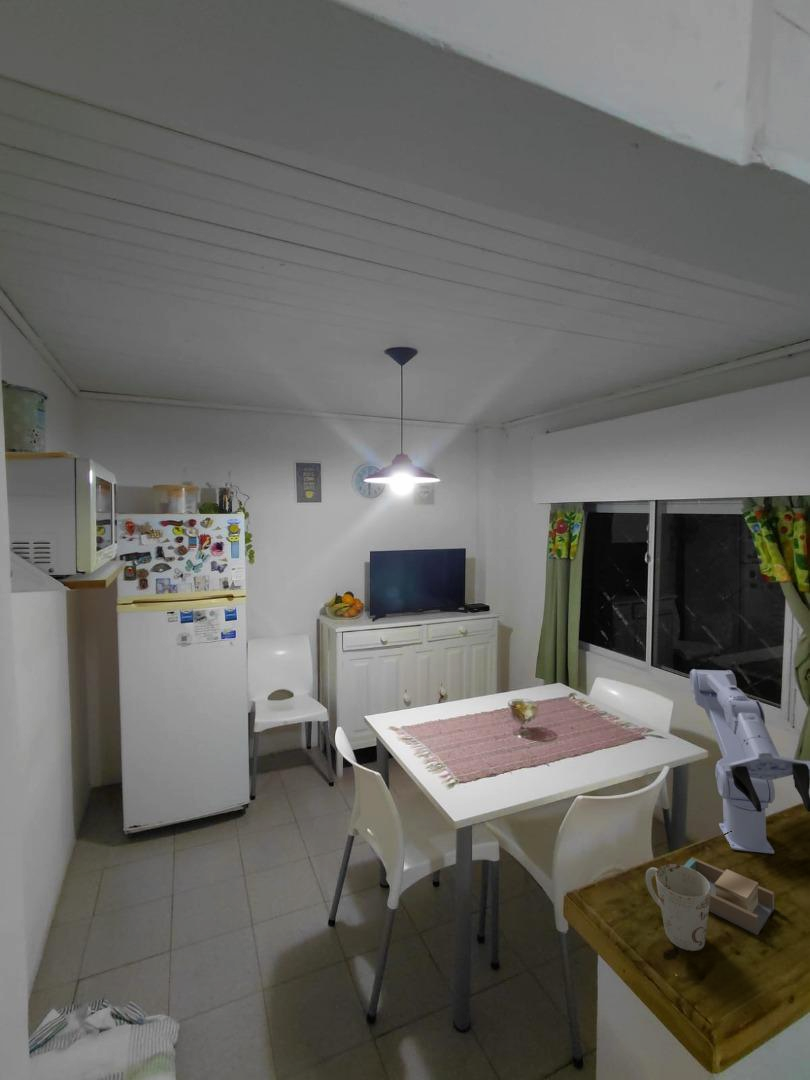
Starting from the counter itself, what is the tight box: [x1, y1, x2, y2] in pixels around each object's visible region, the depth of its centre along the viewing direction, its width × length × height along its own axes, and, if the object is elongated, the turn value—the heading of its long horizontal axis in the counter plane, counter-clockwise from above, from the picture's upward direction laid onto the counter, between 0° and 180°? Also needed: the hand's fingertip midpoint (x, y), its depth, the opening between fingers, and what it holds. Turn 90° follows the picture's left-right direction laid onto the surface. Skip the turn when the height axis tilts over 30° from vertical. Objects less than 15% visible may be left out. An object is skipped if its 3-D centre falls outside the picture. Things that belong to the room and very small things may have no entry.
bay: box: [683, 856, 775, 936], centre depth 97 cm, size 14×9×3 cm, turn 39°
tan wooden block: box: [715, 868, 759, 913], centre depth 95 cm, size 5×6×4 cm
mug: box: [645, 863, 711, 952], centre depth 91 cm, size 8×13×10 cm, turn 22°
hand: (784, 808), depth 92 cm, fingers open, 7 cm apart
